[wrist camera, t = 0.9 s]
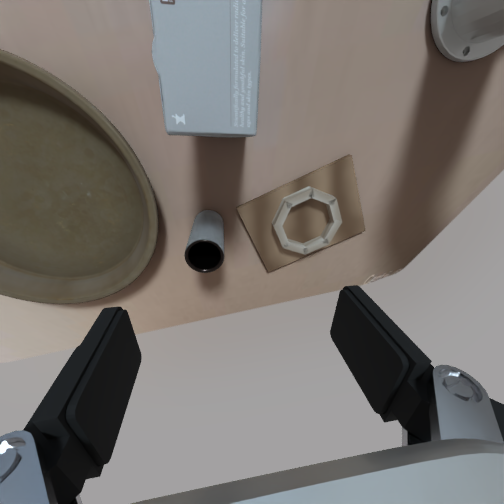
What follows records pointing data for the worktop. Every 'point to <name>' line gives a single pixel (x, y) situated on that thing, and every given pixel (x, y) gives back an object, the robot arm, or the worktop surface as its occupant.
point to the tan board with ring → (305, 214)
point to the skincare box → (208, 65)
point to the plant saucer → (67, 193)
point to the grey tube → (206, 242)
